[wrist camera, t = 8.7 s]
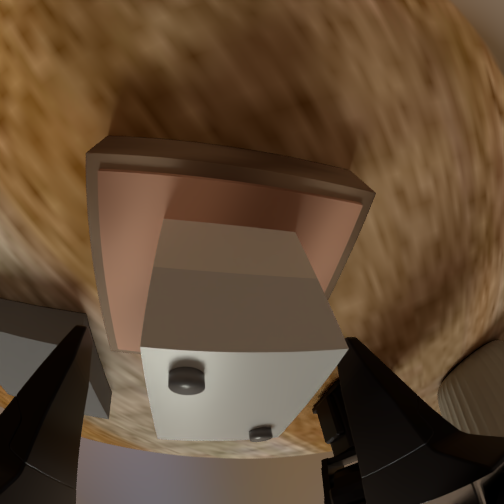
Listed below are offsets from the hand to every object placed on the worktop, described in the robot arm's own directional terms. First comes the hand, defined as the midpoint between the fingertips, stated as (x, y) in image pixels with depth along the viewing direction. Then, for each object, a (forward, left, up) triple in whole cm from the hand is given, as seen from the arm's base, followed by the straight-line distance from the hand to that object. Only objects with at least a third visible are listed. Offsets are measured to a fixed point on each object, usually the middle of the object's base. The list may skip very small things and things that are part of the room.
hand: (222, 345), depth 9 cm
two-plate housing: (0, 0, -3) cm, 3 cm away
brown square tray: (0, 0, -5) cm, 5 cm away
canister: (-38, +16, -5) cm, 42 cm away
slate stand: (+12, +10, -5) cm, 16 cm away
